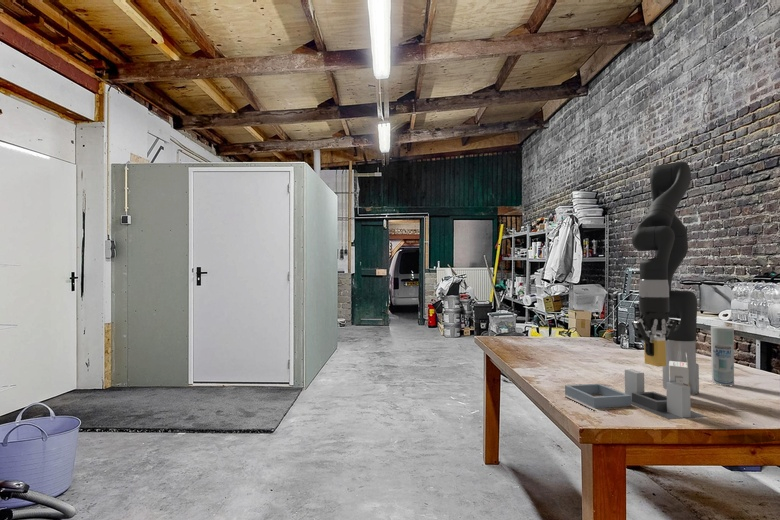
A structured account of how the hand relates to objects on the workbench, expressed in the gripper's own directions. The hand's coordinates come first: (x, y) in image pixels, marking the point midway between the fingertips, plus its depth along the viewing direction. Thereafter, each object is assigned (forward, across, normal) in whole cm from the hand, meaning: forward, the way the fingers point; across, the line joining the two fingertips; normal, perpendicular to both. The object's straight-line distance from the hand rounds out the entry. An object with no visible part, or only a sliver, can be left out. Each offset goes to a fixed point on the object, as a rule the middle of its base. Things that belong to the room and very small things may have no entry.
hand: (654, 355), depth 127 cm
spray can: (+16, -46, -20) cm, 52 cm away
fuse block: (+15, 0, 0) cm, 15 cm away
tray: (+15, +13, -8) cm, 22 cm away
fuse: (+3, 0, 0) cm, 3 cm away
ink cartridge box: (+16, -12, -4) cm, 20 cm away
